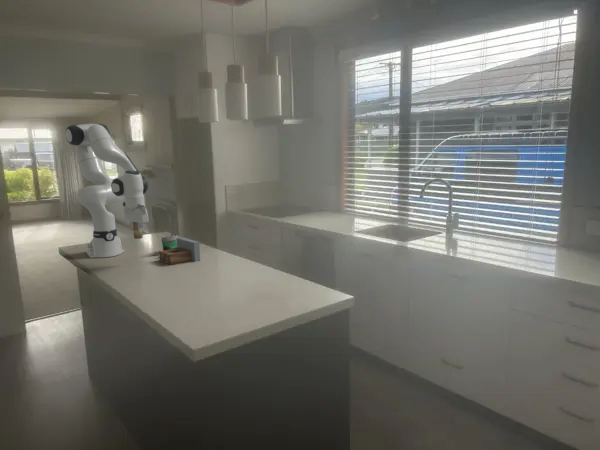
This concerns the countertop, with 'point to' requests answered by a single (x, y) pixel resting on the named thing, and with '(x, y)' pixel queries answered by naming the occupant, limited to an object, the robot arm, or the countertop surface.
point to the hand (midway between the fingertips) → (137, 230)
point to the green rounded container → (169, 242)
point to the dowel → (136, 231)
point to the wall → (190, 247)
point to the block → (175, 256)
